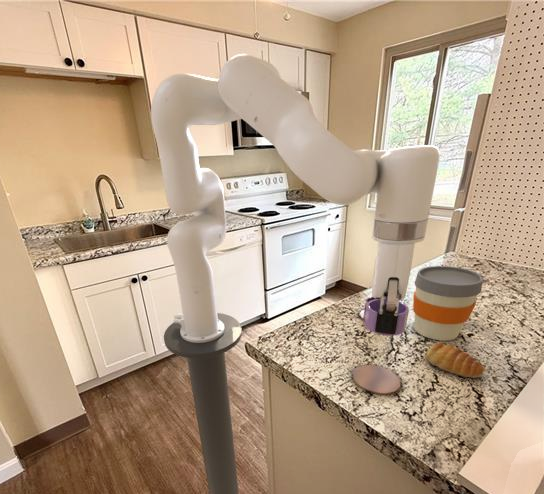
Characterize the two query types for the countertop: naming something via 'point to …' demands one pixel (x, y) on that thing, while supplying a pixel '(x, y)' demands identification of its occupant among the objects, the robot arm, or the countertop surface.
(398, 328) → the lavender dish
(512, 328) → the countertop surface
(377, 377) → the near coaster
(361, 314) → the far coaster
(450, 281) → the reusable coffee cup
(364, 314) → the plum dish
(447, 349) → the pastry
